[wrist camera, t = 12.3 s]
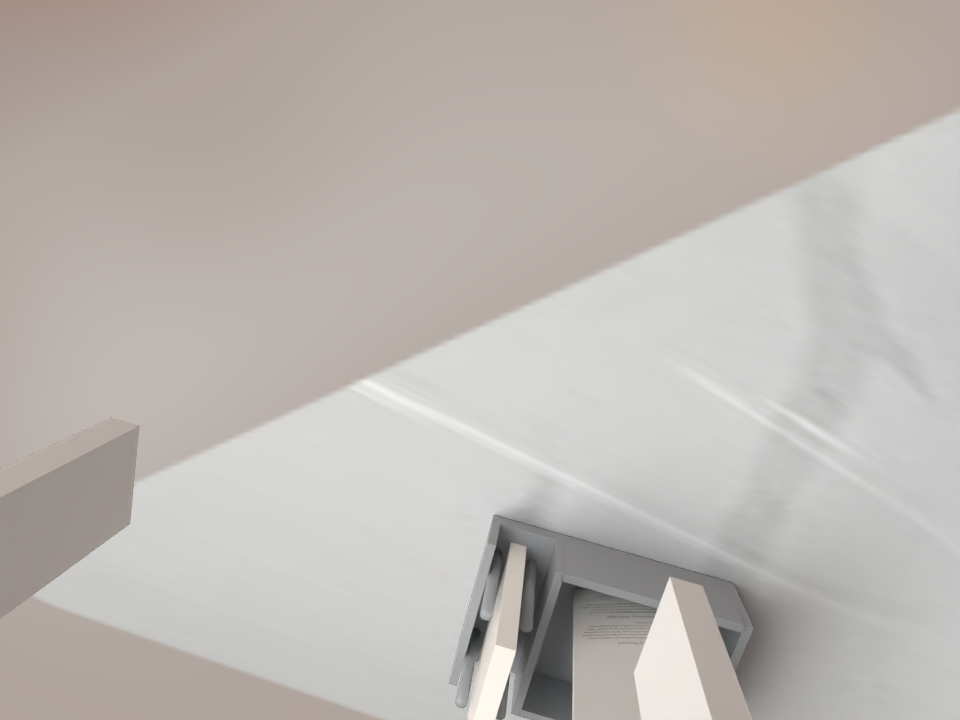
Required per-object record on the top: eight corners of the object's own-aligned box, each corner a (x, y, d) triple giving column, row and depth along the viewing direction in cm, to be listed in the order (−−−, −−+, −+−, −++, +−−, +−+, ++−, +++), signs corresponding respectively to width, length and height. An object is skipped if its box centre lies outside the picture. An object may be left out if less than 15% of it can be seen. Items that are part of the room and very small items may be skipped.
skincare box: (665, 679, 46) (715, 906, 31) (576, 680, 47) (583, 901, 32) (658, 580, 44) (708, 771, 29) (566, 583, 45) (569, 769, 30)
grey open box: (733, 582, 45) (793, 713, 33) (680, 712, 48) (718, 873, 36) (493, 514, 46) (471, 618, 34) (457, 646, 49) (425, 781, 37)
